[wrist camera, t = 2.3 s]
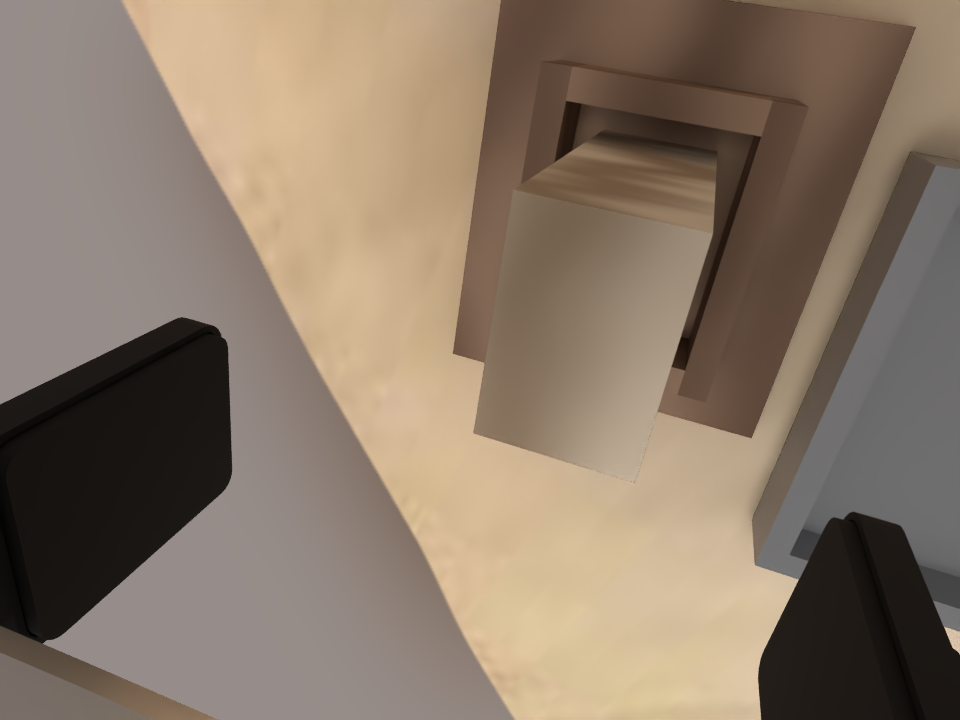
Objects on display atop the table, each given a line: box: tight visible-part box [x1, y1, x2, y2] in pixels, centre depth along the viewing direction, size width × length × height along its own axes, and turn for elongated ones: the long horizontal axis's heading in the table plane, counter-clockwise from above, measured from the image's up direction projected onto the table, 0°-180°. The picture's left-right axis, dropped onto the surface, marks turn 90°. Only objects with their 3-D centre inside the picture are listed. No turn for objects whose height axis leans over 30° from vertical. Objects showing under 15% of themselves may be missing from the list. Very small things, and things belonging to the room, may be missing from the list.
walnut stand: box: [453, 0, 916, 438], centre depth 24 cm, size 13×15×4 cm
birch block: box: [474, 130, 717, 483], centre depth 20 cm, size 4×6×12 cm, turn 172°
